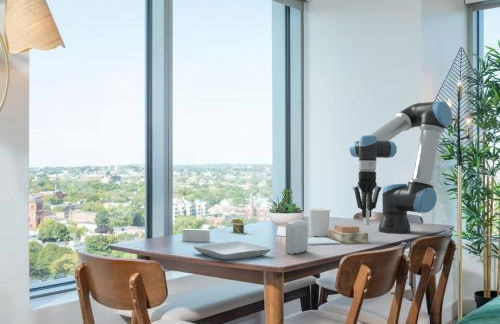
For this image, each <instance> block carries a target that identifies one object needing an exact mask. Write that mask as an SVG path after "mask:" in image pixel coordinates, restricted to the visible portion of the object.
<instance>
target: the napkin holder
mask: <svg viewBox="0 0 500 324" xmlns="http://www.w3.org/2000/svg"><path fill="white" fill-rule="evenodd" d="M210 241H211V230H210V229H201V228H199V229H198V228H183V229H182V242H201V243H202V242H203V243H205V242H209V243H210Z"/></svg>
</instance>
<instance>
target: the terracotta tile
mask: <svg viewBox="0 0 500 324" xmlns="http://www.w3.org/2000/svg"><path fill="white" fill-rule="evenodd" d="M333 230H334V231H337V232H340V233H359V231H360V226H357V225H355V224H334V227H333Z"/></svg>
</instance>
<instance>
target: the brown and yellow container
mask: <svg viewBox="0 0 500 324" xmlns="http://www.w3.org/2000/svg"><path fill="white" fill-rule="evenodd" d="M229 224H230V225H233V226H232V231H233V232H235V233H238V234H244V233H245V225H247V223H246V222H244V221H243V219H239V218H238V219H237V218H235V219H233V218H232V220H231V221H230V222H229Z"/></svg>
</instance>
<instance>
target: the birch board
mask: <svg viewBox="0 0 500 324" xmlns="http://www.w3.org/2000/svg"><path fill="white" fill-rule="evenodd" d="M327 238H329V239H332V240H334V241H337V242H340V245H341V244H342V245H343V244H344V245H345V244H367V243H369V233H368V232H365V231H362V230H359V233H340V232H337V231H334V229H329V231H328V236H327Z"/></svg>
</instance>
